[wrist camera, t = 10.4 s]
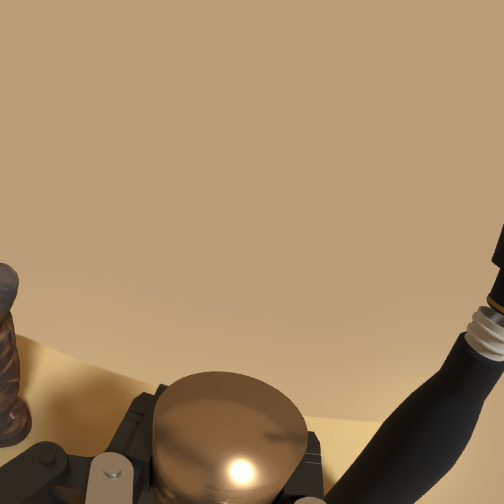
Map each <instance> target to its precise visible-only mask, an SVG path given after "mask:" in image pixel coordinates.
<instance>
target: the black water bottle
mask: <svg viewBox="0 0 504 504" xmlns="http://www.w3.org/2000/svg"><path fill="white" fill-rule="evenodd" d="M492 262H493V263H494V264H495V265H497V266H498V267H499V268H500V270H499V273H498V275H497V278H496V281H495V283H494V285H493V288H492V290H491V292H490V293H489V294H488V296H487V303H488V304H489V306H490V307H491V308H490V307H486V306H480V307H479V309H478V311H477V312H475V313H474V314H473V315H472V319H473V321H472V323H469V324H468V326H467V331H466V332H463V333H461V334H460V335H459V337H458V338H457V340H456V342H455V344H454V346H453V347H452V349H451V351H450V353H449V355H448V356H447V358H446V360H445V362H444V364H443V365H442V367H441V369H440V370H439V371H438V372H437V373H435V374H434V375H433V376H432V377H431V378H430V379H428V380H427V381H426V382H425V383H423V384H422V385H421V386H420V387H419V388H417V389H416V390H415V391H414V392H412V393H411V394H410V395H409V397H407V398H406V399H405V400H404V401H403V402H402V403H401V404H400V405H399V406H398V408H396V410H395V411H394V412H393V413H392V414H391V415H390V416H389V417H388V418H387V419H386V420H385V421H384V422H383V424H382V425H381V427H380V428H379V429H378V431H377V432H376V434H375V435H374V436H373V438H372V439H371V440H370V442H369V443H368V444H367V446H366V447H365V448H364V450H363V451H362V452H361V454H360V455H359V456H358V457H357V459H356V460H355V461H354V462H353V464H352V465H351V466H350V467H349V469H348V470H347V471H346V472H345V473H344V475H343V476H342V477H341V478H340V479H339V481H338V482H337V483H336V484H335V485H334V486H333V487H332V489H331V490H330V491H329V492H328V493H327V494H326V495H325V496H324V500H325V502H326V503H327V504H414V503H415V502H416V501H417V500H418V499H419V498H421V497H422V496H423V495H424V494H425V493H426V492H427V491H429V490H430V489H431V488H432V487H433V486H434V485H435V484H436V483H437V482H438V481H439V480H440V479H441V478H442V477H443V476H444V475H445V474H446V473H447V472H448V471H449V470H450V469H451V468H452V467H453V466H454V464H455V463H456V461H457V460H458V458H459V457H460V455H461V454H462V452H463V450H464V449H465V447H466V445H467V444H468V442H469V440H470V438H471V436H472V433H473V431H474V428H475V426H476V423H477V421H478V418H479V415H480V412H481V409H482V406H483V403H484V401H485V399H486V398H487V396H488V395H489V393H490V392H491V390H492V389H493V387H494V386H495V384H496V383H497V381H498V380H499V378H500V377H501V375H502V373H503V372H504V225H503V228H502V231H501V234H500V237H499V240H498V243H497V246H496V249H495V253H494V254H493V257H492Z"/></svg>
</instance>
